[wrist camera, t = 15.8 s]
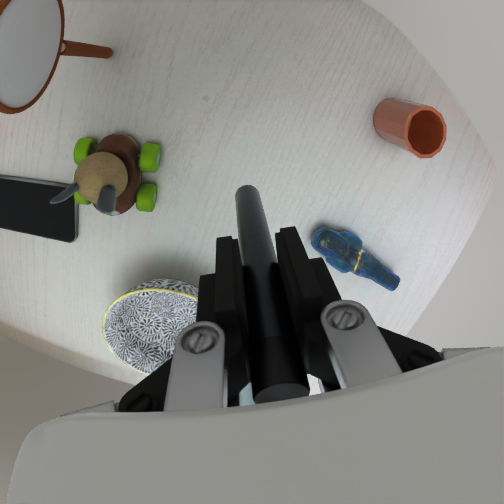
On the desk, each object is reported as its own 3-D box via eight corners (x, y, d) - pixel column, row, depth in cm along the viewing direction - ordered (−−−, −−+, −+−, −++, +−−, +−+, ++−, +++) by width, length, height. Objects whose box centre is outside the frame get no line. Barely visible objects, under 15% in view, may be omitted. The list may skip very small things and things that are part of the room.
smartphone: (-14, 174, 28) (76, 187, 31) (-11, 173, 29) (78, 185, 32) (-9, 226, 32) (76, 245, 35) (-6, 224, 33) (78, 242, 35)
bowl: (255, 298, 42) (261, 339, 36) (185, 355, 47) (181, 393, 41) (158, 227, 36) (145, 263, 29) (98, 302, 41) (82, 340, 34)
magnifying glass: (110, 92, 27) (-17, 128, 10) (95, 91, 27) (-37, 128, 10) (127, 16, 23) (15, -35, 6) (112, 16, 22) (-8, -28, 5)
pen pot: (371, 98, 29) (403, 105, 23) (410, 98, 29) (446, 107, 23) (374, 142, 32) (404, 159, 26) (411, 140, 32) (445, 157, 26)
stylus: (233, 186, 18) (249, 386, 7) (258, 182, 18) (311, 376, 7) (236, 209, 19) (256, 414, 7) (260, 205, 19) (310, 406, 7)
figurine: (395, 264, 42) (317, 213, 38) (411, 272, 39) (331, 218, 34) (379, 293, 43) (298, 247, 38) (393, 303, 39) (309, 255, 35)
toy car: (83, 202, 33) (40, 251, 23) (84, 129, 29) (31, 156, 19) (156, 210, 34) (131, 265, 25) (163, 134, 30) (134, 162, 21)
